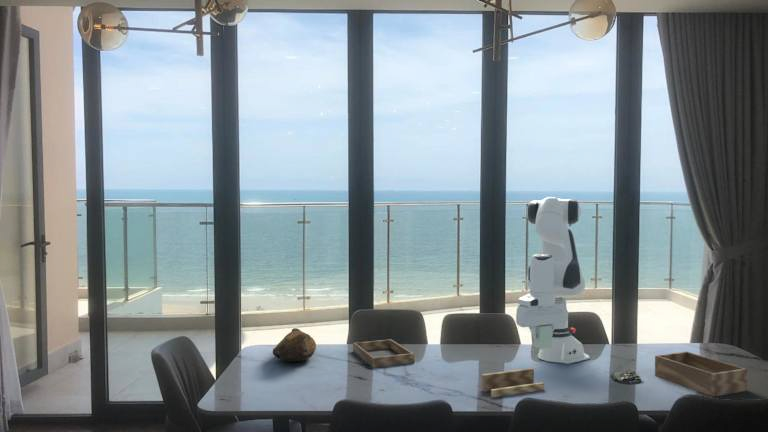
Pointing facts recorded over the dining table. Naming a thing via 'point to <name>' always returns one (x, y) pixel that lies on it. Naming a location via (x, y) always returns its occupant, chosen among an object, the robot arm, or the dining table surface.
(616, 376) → the mottled grey lump
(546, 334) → the cabinet block
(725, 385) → the open wooden box
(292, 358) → the brown rough lump
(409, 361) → the rectangular wooden frame
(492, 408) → the dining table surface
